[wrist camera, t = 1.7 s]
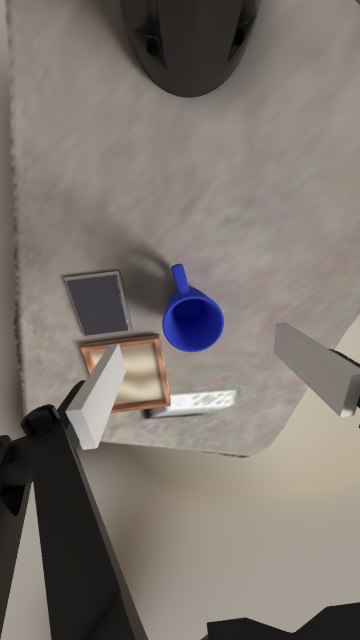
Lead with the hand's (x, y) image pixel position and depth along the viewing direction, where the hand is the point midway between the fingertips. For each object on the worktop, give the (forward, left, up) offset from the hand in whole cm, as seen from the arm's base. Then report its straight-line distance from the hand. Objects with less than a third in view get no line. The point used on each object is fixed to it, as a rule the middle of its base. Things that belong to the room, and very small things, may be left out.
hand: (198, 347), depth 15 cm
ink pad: (0, -15, -19) cm, 24 cm away
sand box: (+15, -13, -19) cm, 27 cm away
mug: (0, 0, -19) cm, 19 cm away
